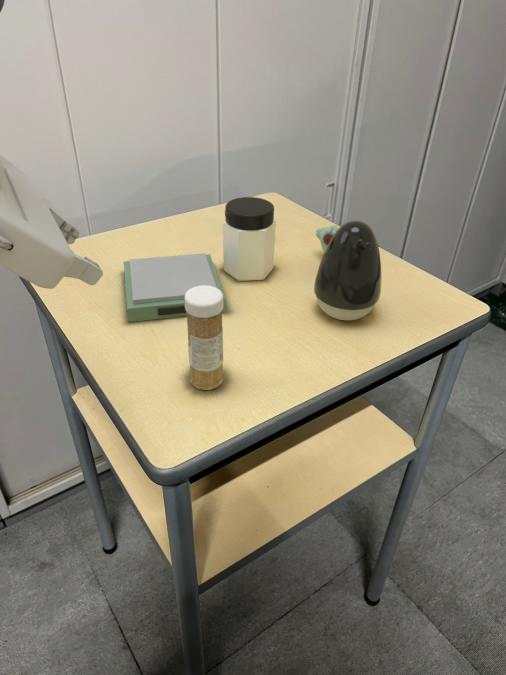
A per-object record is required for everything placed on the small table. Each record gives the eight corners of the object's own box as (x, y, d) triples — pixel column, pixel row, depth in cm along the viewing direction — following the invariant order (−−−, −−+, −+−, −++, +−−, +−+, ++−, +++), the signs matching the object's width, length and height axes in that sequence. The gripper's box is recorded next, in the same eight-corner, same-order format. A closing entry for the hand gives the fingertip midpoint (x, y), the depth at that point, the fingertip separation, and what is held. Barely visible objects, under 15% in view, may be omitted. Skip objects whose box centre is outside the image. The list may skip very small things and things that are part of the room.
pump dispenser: (321, 332, 78) (333, 240, 69) (304, 296, 86) (313, 209, 77) (386, 327, 79) (406, 236, 70) (363, 292, 87) (378, 206, 78)
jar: (237, 254, 97) (238, 192, 90) (278, 263, 95) (282, 200, 88) (216, 276, 90) (215, 211, 83) (259, 286, 88) (262, 220, 81)
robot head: (355, 261, 96) (360, 227, 92) (345, 270, 93) (350, 235, 89) (317, 249, 100) (321, 216, 96) (306, 257, 97) (310, 223, 93)
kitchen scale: (128, 323, 78) (126, 305, 76) (125, 274, 90) (122, 257, 88) (226, 312, 81) (226, 295, 79) (210, 266, 93) (209, 249, 91)
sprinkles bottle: (198, 366, 71) (193, 280, 63) (229, 373, 70) (229, 288, 62) (183, 387, 67) (177, 299, 59) (216, 395, 66) (214, 307, 58)
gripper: (-23, 182, 35) (136, 277, 44) (-43, 113, 49) (80, 196, 59) (-74, 255, 36) (92, 333, 45) (-79, 166, 50) (48, 240, 60)
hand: (85, 255), depth 52 cm, fingers open, 8 cm apart
